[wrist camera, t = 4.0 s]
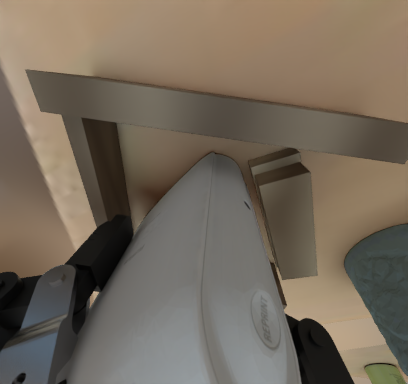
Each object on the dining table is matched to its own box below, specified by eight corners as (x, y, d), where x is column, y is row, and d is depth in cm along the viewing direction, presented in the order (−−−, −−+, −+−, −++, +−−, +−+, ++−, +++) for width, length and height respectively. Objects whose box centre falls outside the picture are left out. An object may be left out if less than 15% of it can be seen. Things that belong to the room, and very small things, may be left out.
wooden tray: (359, 114, 10) (433, 128, 6) (269, 271, 18) (280, 313, 15) (92, 76, 10) (25, 69, 6) (127, 250, 18) (106, 286, 15)
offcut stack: (291, 145, 11) (311, 161, 9) (303, 248, 16) (319, 278, 14) (247, 159, 12) (255, 178, 10) (272, 254, 17) (281, 282, 15)
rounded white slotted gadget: (214, 138, 11) (111, 920, 1) (255, 178, 12) (441, 656, 2) (138, 218, 16) (-29, 478, 5) (174, 241, 17) (98, 487, 6)
